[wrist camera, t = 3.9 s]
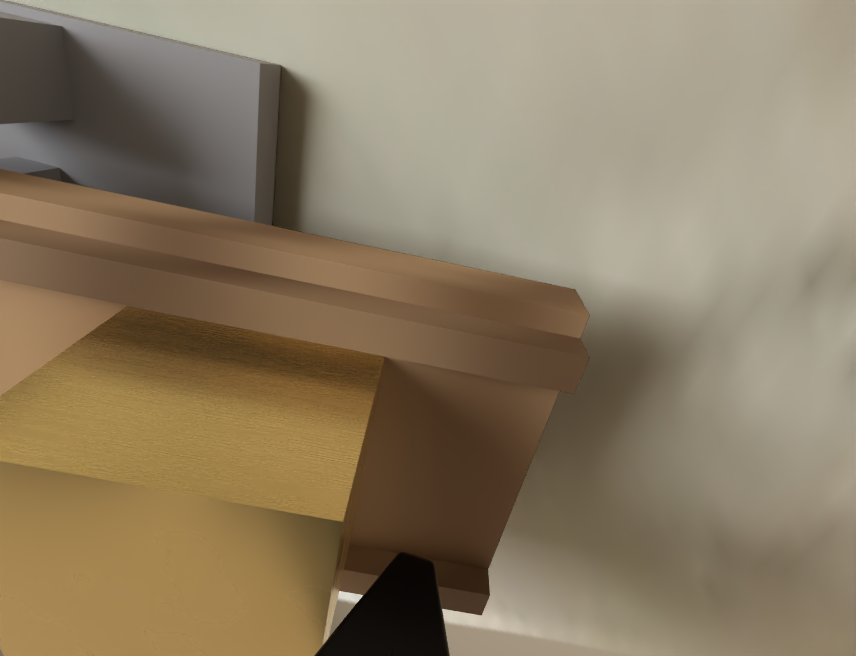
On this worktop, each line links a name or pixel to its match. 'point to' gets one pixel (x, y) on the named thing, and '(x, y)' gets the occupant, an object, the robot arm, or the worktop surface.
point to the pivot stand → (137, 114)
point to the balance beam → (330, 325)
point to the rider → (180, 491)
